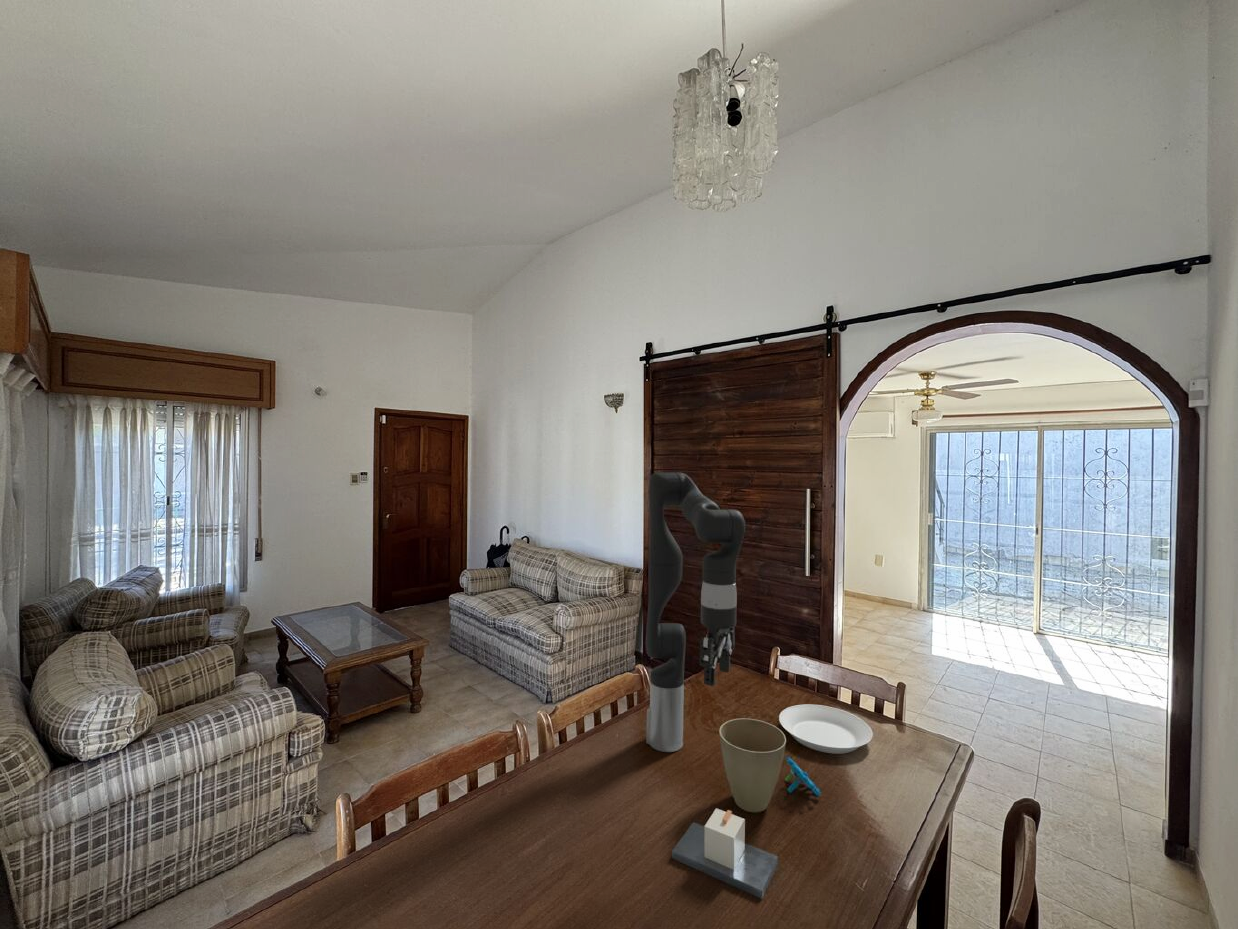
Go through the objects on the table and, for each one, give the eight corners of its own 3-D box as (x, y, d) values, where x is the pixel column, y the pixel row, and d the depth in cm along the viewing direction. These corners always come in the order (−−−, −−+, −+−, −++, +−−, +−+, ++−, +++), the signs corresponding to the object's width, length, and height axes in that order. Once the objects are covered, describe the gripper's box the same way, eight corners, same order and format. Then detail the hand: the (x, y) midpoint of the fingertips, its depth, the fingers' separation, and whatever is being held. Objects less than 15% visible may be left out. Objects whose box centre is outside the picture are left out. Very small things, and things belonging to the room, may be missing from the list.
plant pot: (705, 791, 128) (706, 724, 128) (756, 777, 134) (758, 714, 134) (743, 832, 114) (745, 757, 114) (798, 814, 120) (800, 743, 120)
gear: (829, 799, 123) (797, 765, 124) (811, 818, 123) (779, 784, 124) (813, 777, 134) (783, 746, 135) (796, 795, 134) (767, 764, 135)
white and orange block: (734, 870, 102) (734, 834, 101) (704, 857, 105) (704, 822, 105) (744, 849, 107) (744, 815, 106) (716, 837, 110) (716, 804, 110)
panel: (672, 858, 106) (672, 828, 106) (693, 829, 115) (693, 801, 115) (762, 899, 97) (762, 866, 97) (777, 864, 105) (778, 833, 105)
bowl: (877, 731, 158) (878, 718, 158) (865, 772, 137) (865, 758, 137) (791, 708, 172) (791, 697, 172) (767, 743, 151) (768, 730, 151)
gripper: (723, 613, 107) (721, 694, 108) (746, 598, 119) (745, 670, 120) (688, 607, 111) (687, 685, 112) (714, 593, 123) (713, 663, 124)
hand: (717, 677), depth 116 cm, fingers open, 8 cm apart
